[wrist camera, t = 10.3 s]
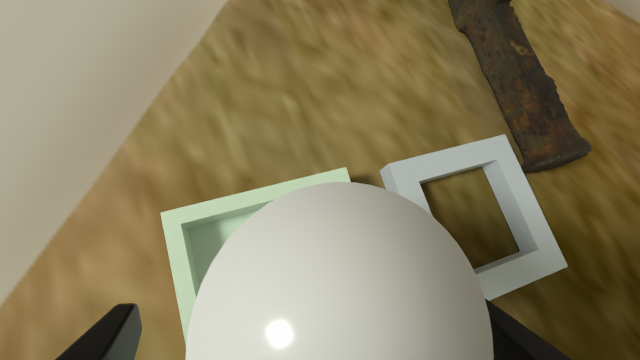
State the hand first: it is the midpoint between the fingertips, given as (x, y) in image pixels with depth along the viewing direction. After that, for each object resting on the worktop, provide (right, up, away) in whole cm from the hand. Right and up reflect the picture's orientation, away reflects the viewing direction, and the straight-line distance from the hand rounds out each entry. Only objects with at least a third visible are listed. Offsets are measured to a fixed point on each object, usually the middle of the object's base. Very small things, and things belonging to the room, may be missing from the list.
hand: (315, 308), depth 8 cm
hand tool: (+14, +13, +18) cm, 26 cm away
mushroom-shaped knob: (-2, -3, +8) cm, 9 cm away
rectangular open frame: (+10, +1, +13) cm, 16 cm away
